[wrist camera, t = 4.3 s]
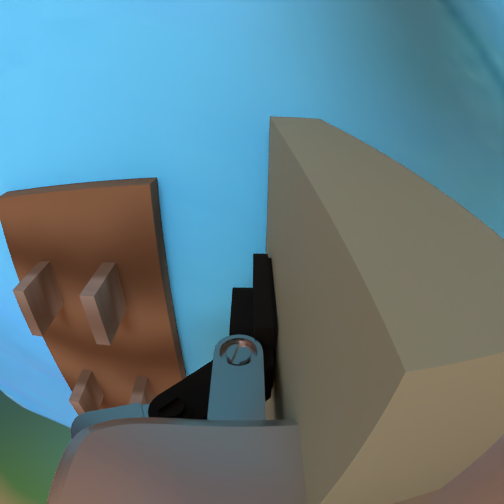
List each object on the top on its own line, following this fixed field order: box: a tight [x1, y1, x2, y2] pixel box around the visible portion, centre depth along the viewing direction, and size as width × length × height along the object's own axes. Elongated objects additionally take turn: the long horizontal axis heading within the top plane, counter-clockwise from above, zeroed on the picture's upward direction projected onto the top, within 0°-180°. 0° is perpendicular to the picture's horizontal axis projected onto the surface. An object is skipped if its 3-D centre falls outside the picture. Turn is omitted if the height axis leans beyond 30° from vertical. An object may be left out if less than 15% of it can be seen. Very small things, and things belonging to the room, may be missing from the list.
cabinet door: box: [265, 116, 504, 504], centre depth 10 cm, size 12×3×12 cm, turn 179°
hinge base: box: [0, 178, 186, 415], centre depth 17 cm, size 20×10×4 cm, turn 0°
